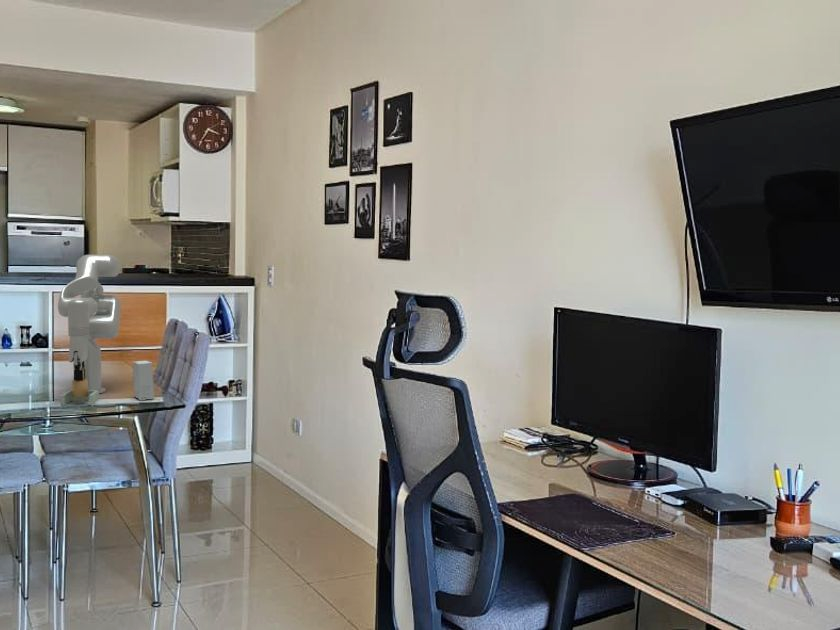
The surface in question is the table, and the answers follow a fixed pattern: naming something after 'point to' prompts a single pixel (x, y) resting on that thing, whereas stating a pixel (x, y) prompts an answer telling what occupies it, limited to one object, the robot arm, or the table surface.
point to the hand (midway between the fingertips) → (79, 379)
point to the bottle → (80, 387)
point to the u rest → (92, 397)
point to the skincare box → (143, 380)
